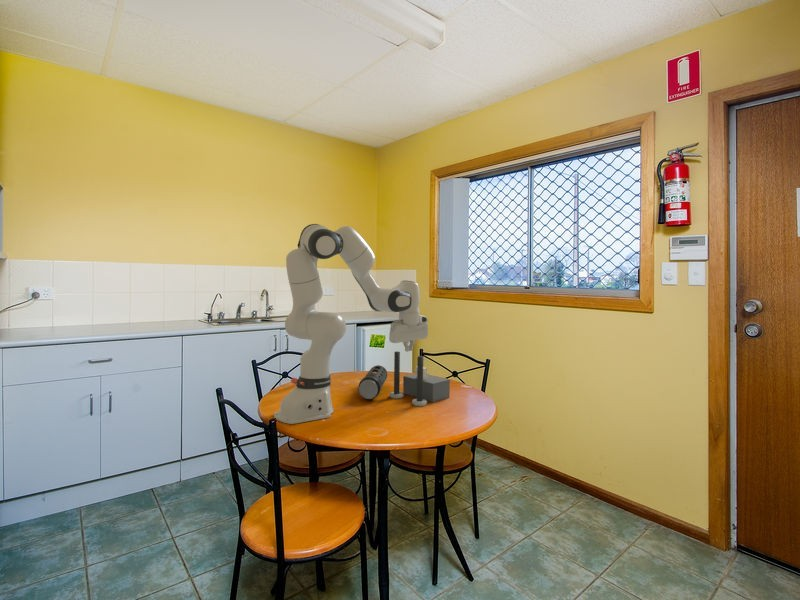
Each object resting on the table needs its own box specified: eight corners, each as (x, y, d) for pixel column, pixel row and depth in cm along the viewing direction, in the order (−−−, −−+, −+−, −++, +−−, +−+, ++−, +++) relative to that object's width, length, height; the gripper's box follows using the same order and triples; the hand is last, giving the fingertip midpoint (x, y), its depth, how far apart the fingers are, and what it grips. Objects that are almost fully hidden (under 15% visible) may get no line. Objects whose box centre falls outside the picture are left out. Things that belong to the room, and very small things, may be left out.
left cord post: (396, 399, 179) (396, 353, 178) (387, 396, 183) (387, 351, 182) (406, 397, 183) (406, 352, 182) (396, 394, 187) (397, 350, 186)
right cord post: (419, 407, 169) (420, 358, 168) (409, 403, 173) (410, 356, 172) (429, 404, 173) (430, 356, 172) (419, 401, 177) (420, 354, 176)
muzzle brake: (387, 386, 202) (388, 365, 201) (379, 403, 174) (379, 378, 173) (368, 385, 203) (368, 364, 202) (356, 402, 175) (357, 378, 174)
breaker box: (432, 402, 176) (433, 383, 175) (403, 393, 189) (403, 376, 188) (449, 397, 183) (449, 379, 183) (419, 389, 196) (420, 372, 196)
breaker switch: (423, 379, 181) (423, 368, 180) (415, 377, 184) (415, 366, 184) (426, 379, 182) (426, 367, 182) (418, 377, 186) (418, 366, 185)
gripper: (396, 321, 167) (396, 355, 168) (430, 317, 181) (430, 349, 182) (385, 320, 171) (385, 353, 172) (420, 316, 185) (419, 347, 186)
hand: (408, 351), depth 177 cm, fingers closed
